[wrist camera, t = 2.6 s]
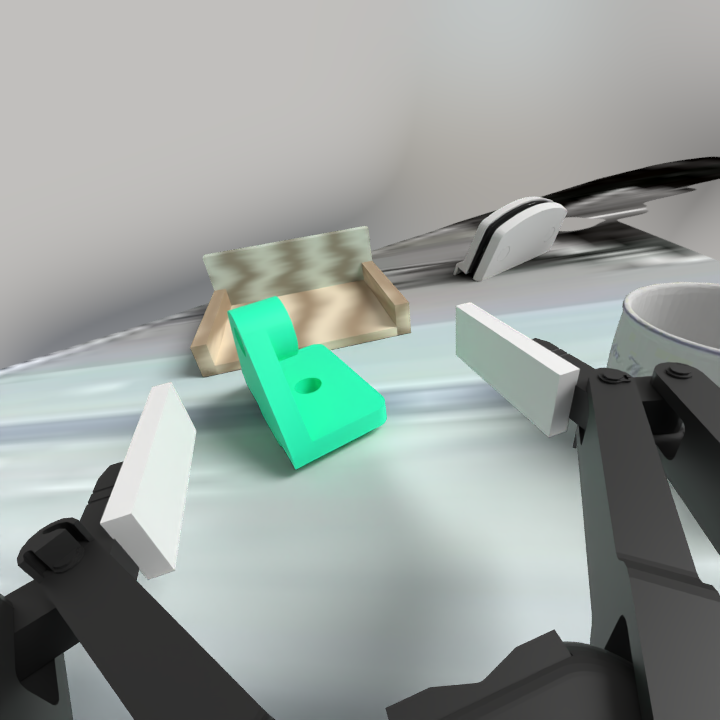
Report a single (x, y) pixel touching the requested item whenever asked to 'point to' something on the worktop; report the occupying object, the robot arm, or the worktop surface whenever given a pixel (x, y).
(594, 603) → the robot arm
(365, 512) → the worktop surface
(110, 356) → the worktop surface
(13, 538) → the worktop surface
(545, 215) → the grey rounded piece
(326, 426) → the camera mount
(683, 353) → the teacup
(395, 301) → the dock
